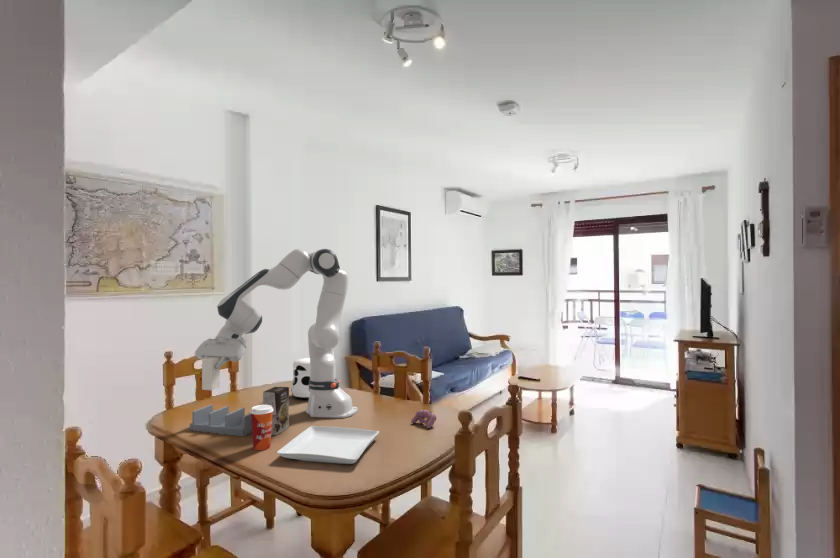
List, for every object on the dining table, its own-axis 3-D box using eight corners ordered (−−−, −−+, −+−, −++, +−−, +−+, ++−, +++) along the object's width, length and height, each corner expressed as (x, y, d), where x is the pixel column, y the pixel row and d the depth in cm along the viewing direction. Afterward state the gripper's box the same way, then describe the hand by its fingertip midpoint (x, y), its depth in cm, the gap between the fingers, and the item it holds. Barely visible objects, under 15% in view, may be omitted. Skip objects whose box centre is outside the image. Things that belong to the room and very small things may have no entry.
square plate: (356, 470, 136) (357, 458, 136) (274, 463, 141) (274, 451, 141) (380, 439, 162) (380, 428, 162) (310, 434, 167) (310, 424, 167)
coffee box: (277, 435, 165) (277, 392, 165) (262, 434, 166) (262, 391, 166) (289, 427, 174) (289, 386, 174) (274, 426, 175) (274, 385, 175)
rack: (262, 426, 175) (262, 408, 175) (243, 436, 163) (243, 417, 163) (212, 420, 181) (212, 403, 181) (189, 430, 170) (189, 412, 170)
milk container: (334, 395, 223) (334, 359, 223) (309, 403, 208) (309, 365, 208) (309, 390, 231) (309, 356, 231) (283, 398, 217) (283, 361, 217)
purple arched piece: (434, 431, 175) (439, 413, 177) (427, 428, 172) (433, 411, 174) (416, 425, 181) (421, 408, 184) (409, 423, 178) (414, 406, 181)
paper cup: (259, 453, 148) (260, 411, 148) (245, 448, 152) (245, 408, 152) (278, 446, 154) (278, 406, 154) (264, 441, 158) (264, 402, 158)
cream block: (219, 387, 176) (220, 357, 176) (211, 390, 172) (211, 359, 172) (210, 386, 177) (210, 357, 177) (202, 389, 173) (202, 358, 173)
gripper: (202, 334, 184) (183, 361, 174) (244, 336, 178) (227, 364, 169) (210, 343, 188) (192, 370, 179) (251, 345, 183) (235, 373, 173)
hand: (210, 367), depth 174 cm, fingers closed on cream block, 4 cm apart
